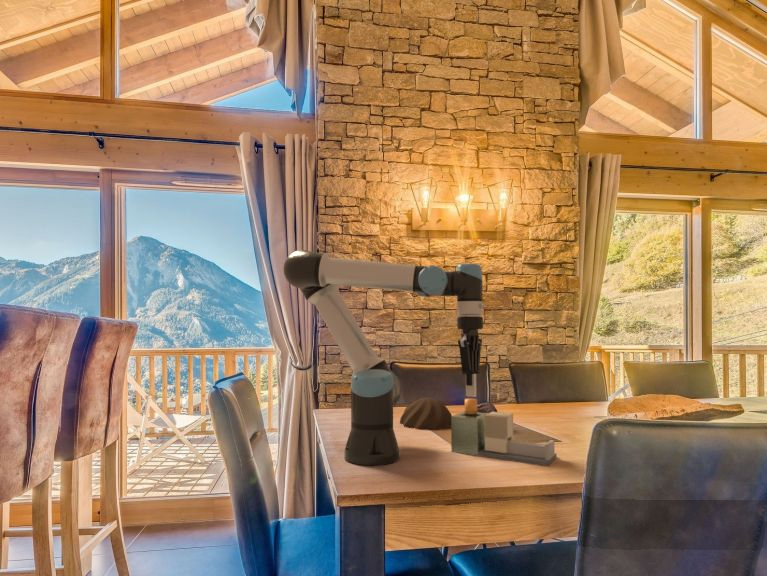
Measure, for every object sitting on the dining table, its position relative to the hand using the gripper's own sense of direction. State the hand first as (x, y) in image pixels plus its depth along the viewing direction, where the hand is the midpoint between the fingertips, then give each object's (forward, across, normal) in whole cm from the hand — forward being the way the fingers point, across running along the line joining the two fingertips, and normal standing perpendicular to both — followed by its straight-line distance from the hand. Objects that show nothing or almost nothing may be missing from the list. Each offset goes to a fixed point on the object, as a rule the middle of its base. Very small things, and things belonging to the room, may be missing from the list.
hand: (471, 396), depth 147 cm
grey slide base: (+16, 0, -13) cm, 20 cm away
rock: (+16, +29, +7) cm, 34 cm away
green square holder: (+15, 0, 0) cm, 15 cm away
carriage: (+14, 0, -8) cm, 16 cm away
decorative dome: (+16, +26, +28) cm, 41 cm away
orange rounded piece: (+5, 0, 0) cm, 5 cm away
